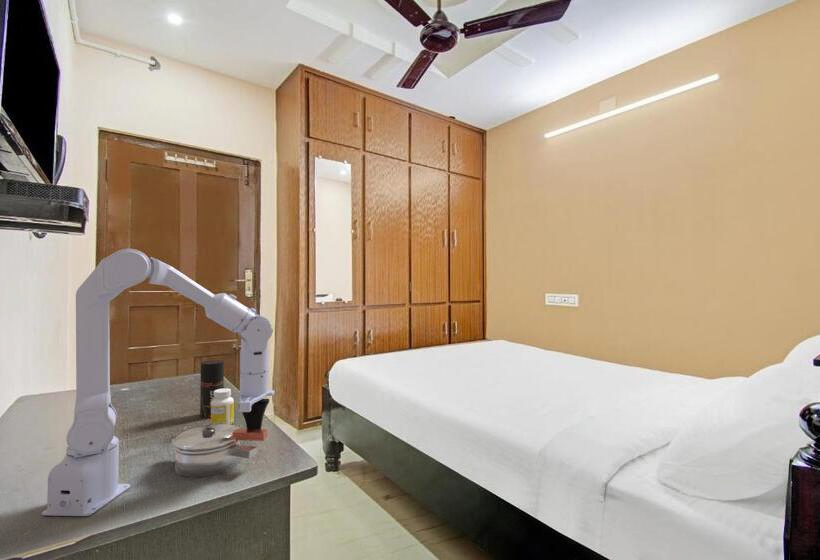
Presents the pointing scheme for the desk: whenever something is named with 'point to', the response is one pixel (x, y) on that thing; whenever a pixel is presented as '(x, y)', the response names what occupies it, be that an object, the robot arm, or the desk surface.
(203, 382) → the deodorant
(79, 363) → the robot arm
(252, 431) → the lid
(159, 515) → the desk surface
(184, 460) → the pot
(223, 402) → the supplement bottle
